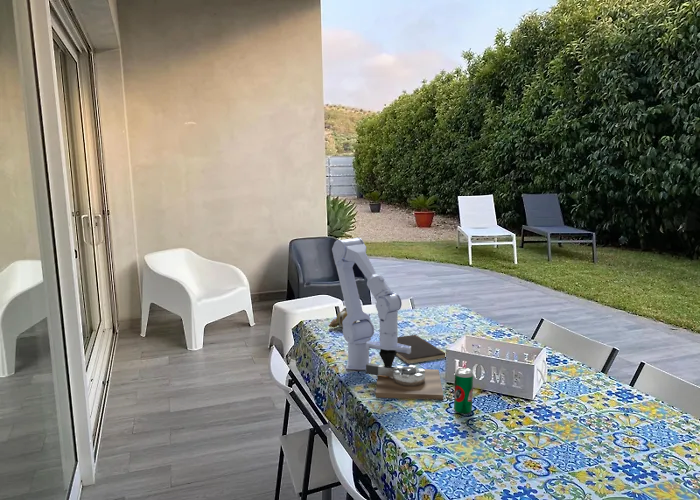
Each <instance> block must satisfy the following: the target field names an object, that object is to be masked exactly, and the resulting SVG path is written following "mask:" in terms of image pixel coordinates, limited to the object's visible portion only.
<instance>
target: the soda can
mask: <svg viewBox="0 0 700 500" xmlns="http://www.w3.org/2000/svg"><path fill="white" fill-rule="evenodd" d="M473 394H474V374H473V371H472V370H471V369H470V368H464V367H460V368H457V369H456V372H455V374H454V394H453V396H454V398H453V411H454V412H456V413H458V414H460V415H467V414H470V413H472V411H473Z"/></svg>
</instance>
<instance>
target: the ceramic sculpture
mask: <svg viewBox="0 0 700 500" xmlns="http://www.w3.org/2000/svg"><path fill="white" fill-rule="evenodd" d="M346 316H347V311H346V307H344V308H343V309H342V310H340V312H339V313H337V316H336V318H334V319H332V320H331V322H330V323H329V324H328V327H330V328H338V327H339V328H342V329H343V324H342V322H343V320H344V319H345V318H346ZM356 322H358V321H354V322H353V323H356Z"/></svg>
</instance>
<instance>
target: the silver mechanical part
mask: <svg viewBox="0 0 700 500" xmlns="http://www.w3.org/2000/svg"><path fill="white" fill-rule="evenodd" d="M424 369H425V368H420V367H417V365H413V364H409V366H402V365H398V366H392V367H390V366H384V365H382V364H379V363H378V364H377V363H372V362H371V363H367V364H366V370H365V375H372V376H378V375H382V376H389V377H393V381H394V382H395V383H396V384H399V385H402V386H418V385H421V384H423V383H424V382H425V370H424Z"/></svg>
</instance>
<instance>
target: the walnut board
mask: <svg viewBox="0 0 700 500" xmlns="http://www.w3.org/2000/svg"><path fill="white" fill-rule="evenodd" d="M423 369H424V370H425V382H424V383H423V384H421V385H418V386H402V385H399V384H396V383H395V382H394V381H393V377H389V376H382V375H376V376H377V378H376V388H375V398H382V399H383V398H385V399H406V400H407V399H410V400H411V399H412V400H414V399H415V400H437V401H438V400H439V401H442V400H444V392H443V391H444V390H443V387H442V380H441V376H440V370H439V369H430V368H429V369H428V368H426V369H425V368H423Z"/></svg>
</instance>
